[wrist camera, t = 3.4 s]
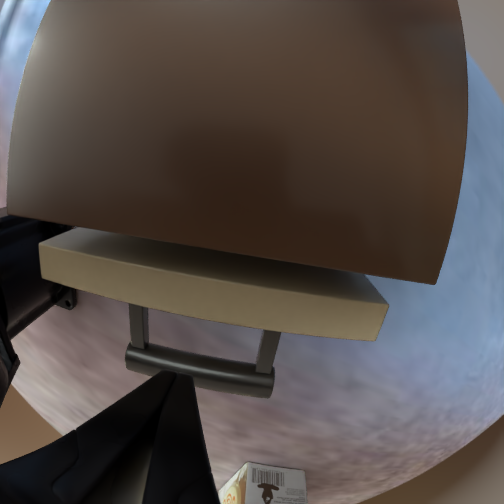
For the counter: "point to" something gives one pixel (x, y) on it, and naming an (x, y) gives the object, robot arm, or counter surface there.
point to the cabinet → (249, 127)
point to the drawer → (213, 300)
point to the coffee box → (265, 486)
